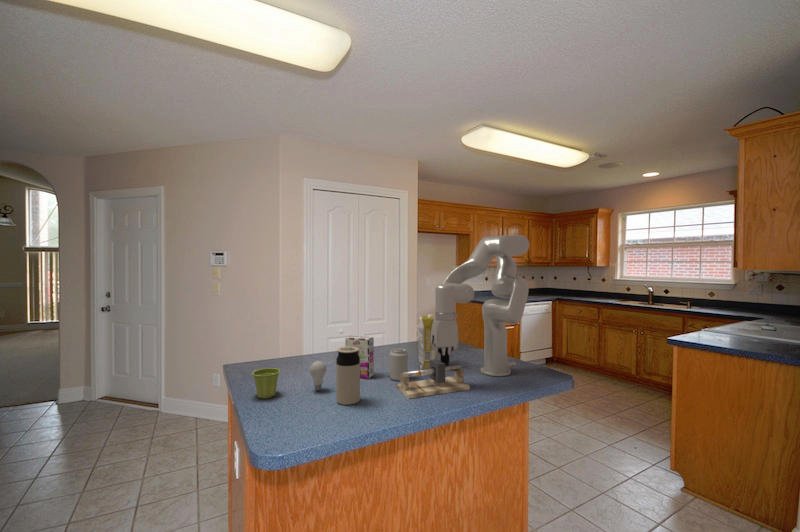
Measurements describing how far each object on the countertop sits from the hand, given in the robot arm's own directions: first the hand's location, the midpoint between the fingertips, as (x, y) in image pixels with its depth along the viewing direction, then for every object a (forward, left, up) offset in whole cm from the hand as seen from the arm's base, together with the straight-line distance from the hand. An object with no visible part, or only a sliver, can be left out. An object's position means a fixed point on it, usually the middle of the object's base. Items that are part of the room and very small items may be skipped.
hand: (444, 364), depth 138 cm
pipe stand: (+5, 0, -9) cm, 10 cm away
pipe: (+5, 0, -3) cm, 6 cm away
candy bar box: (+27, -25, -9) cm, 38 cm away
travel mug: (+38, 0, -9) cm, 39 cm away
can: (+13, -16, -9) cm, 22 cm away
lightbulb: (+46, -14, -9) cm, 49 cm away
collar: (+3, 0, -6) cm, 6 cm away
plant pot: (+64, -16, -9) cm, 66 cm away
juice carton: (-5, -26, -9) cm, 28 cm away
